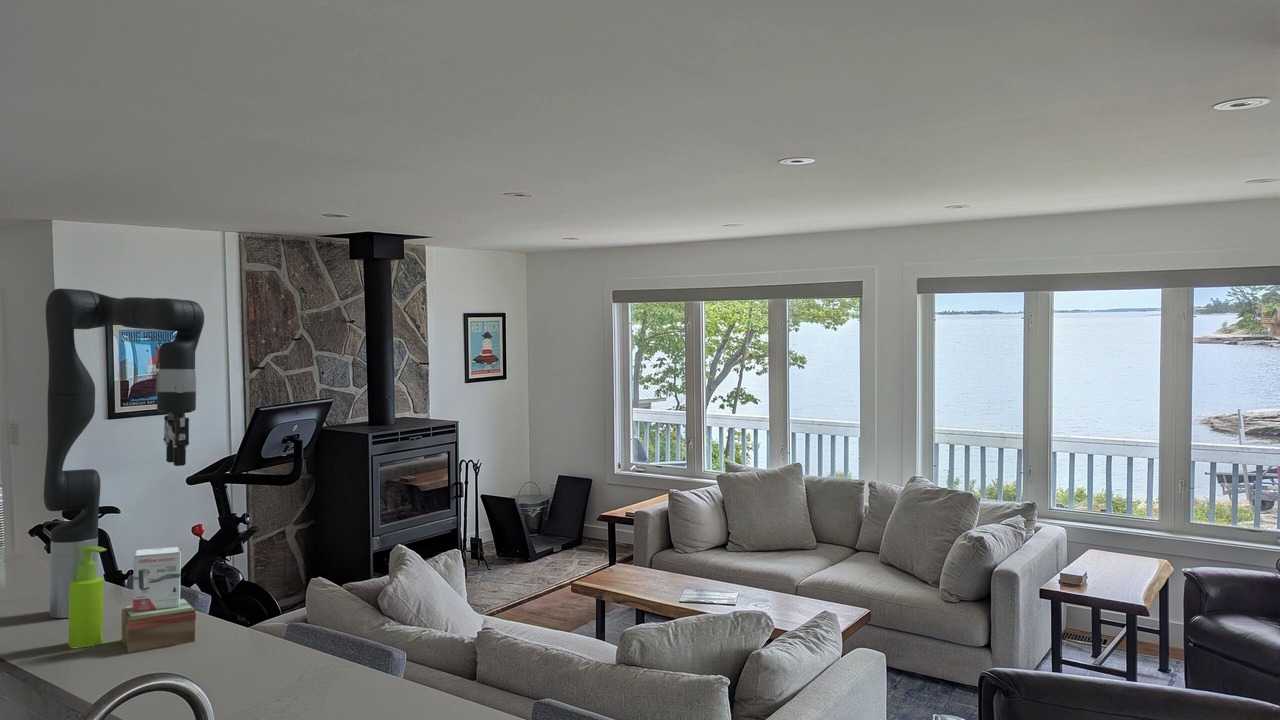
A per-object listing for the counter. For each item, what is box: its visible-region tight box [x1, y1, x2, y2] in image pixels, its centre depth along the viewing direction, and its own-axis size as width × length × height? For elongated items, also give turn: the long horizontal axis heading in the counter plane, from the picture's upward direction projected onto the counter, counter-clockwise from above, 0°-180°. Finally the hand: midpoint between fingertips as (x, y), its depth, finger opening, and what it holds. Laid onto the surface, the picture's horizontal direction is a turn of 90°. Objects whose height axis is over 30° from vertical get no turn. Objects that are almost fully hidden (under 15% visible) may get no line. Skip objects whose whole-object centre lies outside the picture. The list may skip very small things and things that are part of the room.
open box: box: [121, 598, 197, 653], centre depth 180 cm, size 11×12×7 cm
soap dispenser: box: [67, 545, 108, 648], centre depth 177 cm, size 6×7×20 cm
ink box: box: [132, 546, 182, 612], centre depth 180 cm, size 9×5×12 cm, turn 120°
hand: (175, 463), depth 188 cm, fingers open, 8 cm apart
